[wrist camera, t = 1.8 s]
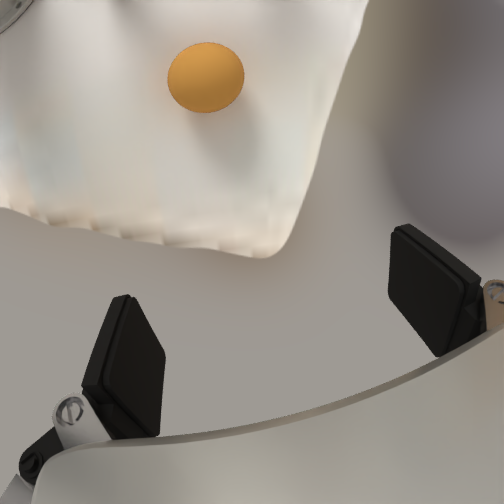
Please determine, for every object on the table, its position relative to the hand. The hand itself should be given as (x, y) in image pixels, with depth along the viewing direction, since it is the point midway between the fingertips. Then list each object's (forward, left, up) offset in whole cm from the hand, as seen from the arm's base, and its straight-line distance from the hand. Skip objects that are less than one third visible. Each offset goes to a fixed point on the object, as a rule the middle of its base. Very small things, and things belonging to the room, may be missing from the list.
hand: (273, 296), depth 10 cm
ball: (0, +9, -16) cm, 18 cm away
